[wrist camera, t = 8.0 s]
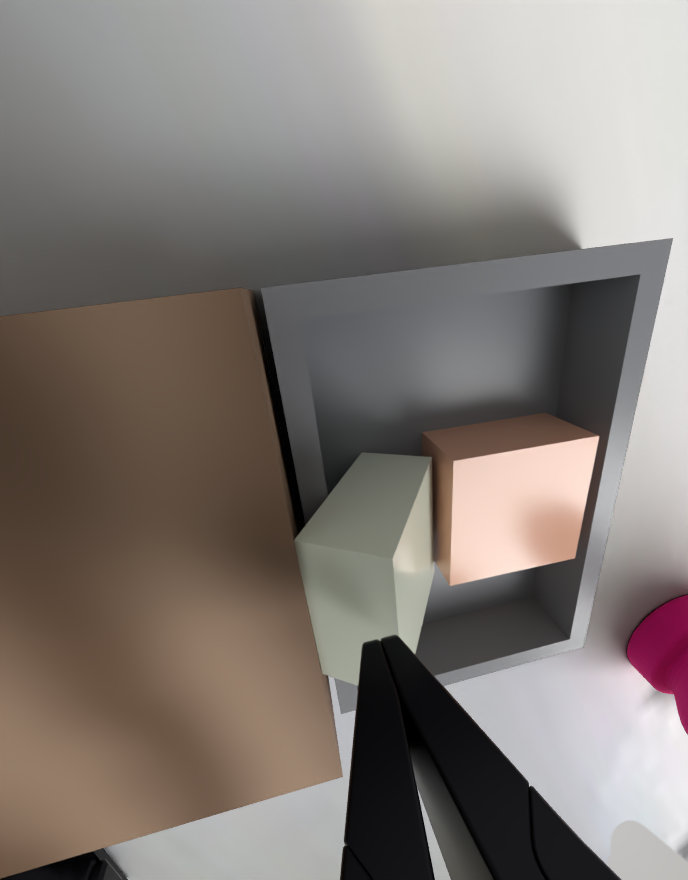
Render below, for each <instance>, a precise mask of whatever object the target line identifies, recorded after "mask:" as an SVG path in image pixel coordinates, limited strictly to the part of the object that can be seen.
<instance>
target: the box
mask: <svg viewBox="0 0 688 880" xmlns="http://www.w3.org/2000/svg"><path fill="white" fill-rule="evenodd" d="M672 240H673V238H670V239H662V240H654V241H645V242H637V243H629V244H621V245H612V246H604V247H596V248H587V249H579V250H571V251H562V252H554V253H546V254H537V255H529V256H521V257H512V258H504V259H496V260H488V261H479V262H471V263H463V264H454V265H446V266H438V267H429V268H421V269H413V270H404V271H396V272H388V273H380V274H371V275H363V276H355V277H346V278H338V279H330V280H321V281H313V282H305V283H296V284H288V285H280V286H271V287H263V288H261V292H262V297H263V303H264V308H265V313H266V318H267V324H268V329H269V334H270V340H271V345H272V350H273V356H274V361H275V366H276V371H277V377H278V382H279V387H280V393H281V398H282V403H283V409H284V414H285V419H286V424H287V430H288V435H289V440H290V446H291V451H292V456H293V461H294V467H295V472H296V477H297V483H298V488H299V493H300V499H301V504H302V509H303V514H304V520H305V525H306V524H307V523H308V522H309V520H310V519H311V518H312V516H313V515H314V514H315V513H316V511H317V510H318V509H319V507H320V506H321V505H322V503H323V502H324V501H325V500H326V498H327V497H328V496H329V494H330V493H331V492H332V490H333V489H334V488H335V486H336V485H337V484H338V483H339V481H340V480H341V479H342V477H343V476H344V475H345V473H346V472H347V471H348V470H349V468H350V467H351V466H352V464H353V463H354V462H355V460H356V459H357V458H358V457H359V455H360V454H361V453H362V452H365V453H380V454H394V455H409V456H422V432H427V431H434V430H440V429H446V428H452V427H458V426H465V425H471V424H477V423H483V422H490V421H496V420H502V419H508V418H515V417H521V416H527V415H533V414H540V413H548V414H550V415H552V416H555V417H557V418H559V419H562V420H564V421H566V422H569V423H571V424H573V425H576V426H578V427H580V428H583V429H585V430H587V431H590V432H592V433H594V434H597V435H599V441H598V446H597V451H596V456H595V461H594V466H593V471H592V476H591V481H590V486H589V491H588V496H587V501H586V506H585V511H584V515H583V520H582V525H581V530H580V535H579V540H578V545H577V550H576V555H575V558H574V559H569V560H565V561H560V562H556V563H551V564H547V565H542V566H538V567H533V568H529V569H524V570H520V571H515V572H511V573H506V574H502V575H498V576H493V577H489V578H484V579H480V580H475V581H471V582H466V583H462V584H457V585H453V586H450V585H449V584H448V582H447V581H446V579H445V577H444V576H443V574H442V572H441V571H440V569H439V567H438V566H437V564H436V562H435V561H434V576H433V580H432V584H431V588H430V593H429V597H428V601H427V606H426V610H425V614H424V619H423V623H422V627H421V632H420V636H419V640H418V645H417V649H416V653H415V655H416V656H417V657H418V658H419V659H420V661H421V662H422V663H423V664H424V665H425V666H426V667H427V668H428V670H429V671H430V672H431V673H432V674H433V675H434V676H435V677H436V678H437V680H438V681H439V682H440V683H441V684H442V685H443V686H445V685H449V684H452V683H456V682H459V681H463V680H467V679H470V678H474V677H478V676H481V675H485V674H489V673H492V672H496V671H499V670H503V669H507V668H510V667H514V666H518V665H521V664H525V663H529V662H532V661H536V660H539V659H543V658H547V657H550V656H554V655H558V654H561V653H565V652H569V651H572V650H576V649H579V648H583V647H584V644H585V639H586V635H587V630H588V625H589V621H590V616H591V612H592V607H593V603H594V598H595V593H596V589H597V584H598V580H599V575H600V570H601V566H602V561H603V557H604V552H605V548H606V543H607V538H608V534H609V529H610V525H611V520H612V515H613V511H614V506H615V502H616V497H617V493H618V488H619V483H620V479H621V474H622V470H623V465H624V460H625V456H626V451H627V447H628V442H629V437H630V433H631V428H632V424H633V419H634V415H635V410H636V405H637V401H638V396H639V392H640V387H641V382H642V378H643V373H644V369H645V364H646V360H647V355H648V350H649V346H650V341H651V337H652V332H653V327H654V323H655V318H656V314H657V309H658V305H659V300H660V295H661V291H662V286H663V282H664V277H665V272H666V268H667V263H668V259H669V254H670V250H671V245H672ZM334 679H335V684H336V689H337V694H338V700H339V705H340V710H341V714H343V713H347V712H350V711H354V710H356V705H357V694H358V686H357V685H354V684H351V683H348V682H345V681H342V680H339V679H336V678H334Z"/></svg>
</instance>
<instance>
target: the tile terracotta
mask: <svg viewBox="0 0 688 880" xmlns="http://www.w3.org/2000/svg"><path fill="white" fill-rule="evenodd" d="M598 441H599V435H597V434H594V433H592V432H590V431H587V430H585V429H583V428H580V427H578V426H576V425H573V424H571V423H569V422H566V421H564V420H562V419H559V418H557V417H555V416H552V415H550V414H548V413H540V414H533V415H527V416H521V417H515V418H508V419H502V420H496V421H490V422H483V423H477V424H471V425H465V426H458V427H452V428H446V429H440V430H434V431H427V432H422V456H424V457H432V489H433V532H434V561H435V562H436V564H437V566H438V567H439V569H440V571H441V572H442V574H443V576H444V577H445V579H446V581H447V582H448V584H449V585H450V586H453V585H457V584H462V583H466V582H471V581H475V580H480V579H484V578H489V577H493V576H498V575H502V574H506V573H511V572H515V571H520V570H524V569H529V568H533V567H538V566H542V565H547V564H551V563H556V562H560V561H565V560H569V559H574V558H575V555H576V550H577V545H578V540H579V535H580V530H581V525H582V520H583V515H584V511H585V506H586V501H587V496H588V491H589V486H590V481H591V476H592V471H593V466H594V461H595V456H596V451H597V446H598Z"/></svg>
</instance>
